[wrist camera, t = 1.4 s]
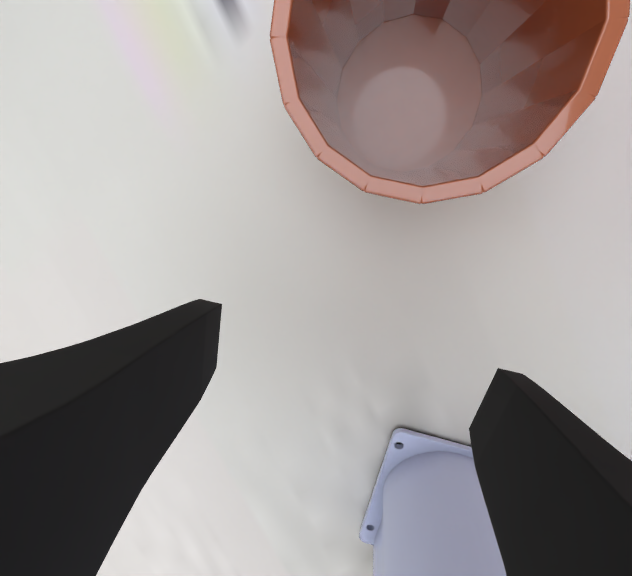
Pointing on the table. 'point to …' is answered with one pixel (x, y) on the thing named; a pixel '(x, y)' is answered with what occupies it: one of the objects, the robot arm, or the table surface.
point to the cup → (439, 85)
